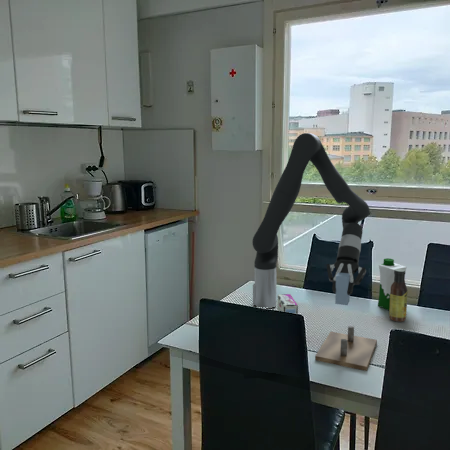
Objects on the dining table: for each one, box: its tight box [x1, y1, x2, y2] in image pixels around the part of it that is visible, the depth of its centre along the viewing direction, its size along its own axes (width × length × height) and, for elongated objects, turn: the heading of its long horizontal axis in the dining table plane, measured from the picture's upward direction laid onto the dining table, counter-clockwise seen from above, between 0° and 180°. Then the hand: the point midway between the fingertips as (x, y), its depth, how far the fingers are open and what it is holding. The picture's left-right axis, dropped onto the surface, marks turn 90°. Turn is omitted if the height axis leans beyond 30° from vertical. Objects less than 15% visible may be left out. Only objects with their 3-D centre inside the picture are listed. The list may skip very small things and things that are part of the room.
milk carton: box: [377, 258, 407, 311], centre depth 182 cm, size 9×9×20 cm
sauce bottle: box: [388, 269, 409, 323], centre depth 170 cm, size 7×6×20 cm
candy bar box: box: [276, 293, 299, 314], centre depth 152 cm, size 11×5×16 cm, turn 5°
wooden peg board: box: [314, 325, 378, 372], centre depth 146 cm, size 16×20×6 cm
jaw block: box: [334, 273, 351, 306], centre depth 151 cm, size 4×4×10 cm
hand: (341, 293), depth 149 cm, fingers closed on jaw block, 4 cm apart
